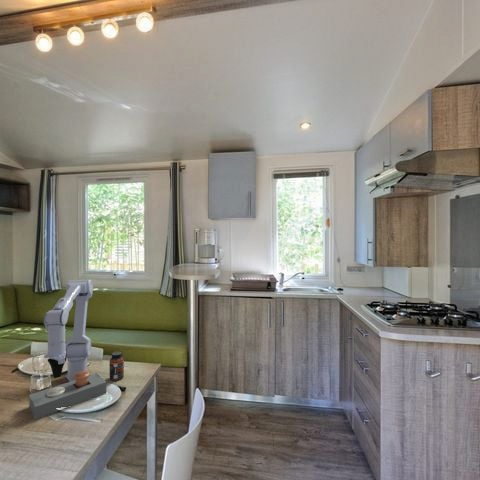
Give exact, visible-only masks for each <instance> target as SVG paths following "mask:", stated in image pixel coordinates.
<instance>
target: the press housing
mask: <svg viewBox="0 0 480 480" xmlns="http://www.w3.org/2000/svg"><path fill="white" fill-rule="evenodd" d="M57 387H64V388H65V392H64V393H63V394H61V395H59V396H55V397H51V398H49V397H47V394H46V393H47V392H48V391H49V390H51V389H53V388H57ZM104 394H105V395H106V394H107V381H106V380H104V378H103V377H101V376H100V374H98V373H97V372H96V373H93V374H90V375H89V376H88V385H86V386H84V387H81V388H76V380H74V381H71V382H70V381H68V382H65V383H62V384H59V385H55V386H53V387H50V388H47V389H44V390H41V391H40V390H39V391H38V392H34V393H31V394H29V395H28V400H29V401H28V403H29V405H28V407H29V409H30V411H31V413H32V416H33V418H34V420H35V421H36V420H39V419H43V418H44V417H47V416H49V415H52V414H55V413H57V412H59V411H58V410H57V409H56V408H61V407H68V408H70V407H69V406H71V407H73V406H76V405H79V404H81V403H84V402H86V401H87V402H88V401H89V400H92V399H95V398H97V397H100V396H102V395H104Z"/></svg>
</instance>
